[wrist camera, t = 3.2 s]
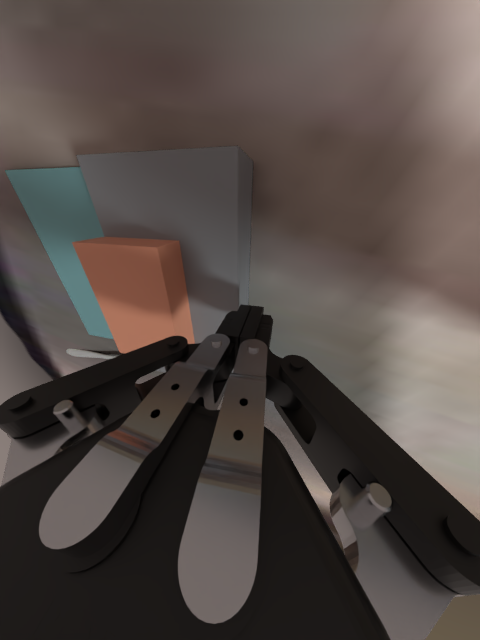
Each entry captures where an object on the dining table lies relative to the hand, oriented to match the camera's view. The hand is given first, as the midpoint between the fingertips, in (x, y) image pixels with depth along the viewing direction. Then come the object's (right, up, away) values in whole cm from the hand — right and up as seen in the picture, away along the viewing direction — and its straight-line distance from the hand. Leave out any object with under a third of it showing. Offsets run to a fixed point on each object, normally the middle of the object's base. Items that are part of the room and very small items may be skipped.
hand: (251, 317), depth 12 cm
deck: (-5, +3, +6) cm, 8 cm away
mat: (-16, +5, +8) cm, 18 cm away
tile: (-8, +1, +2) cm, 8 cm away
